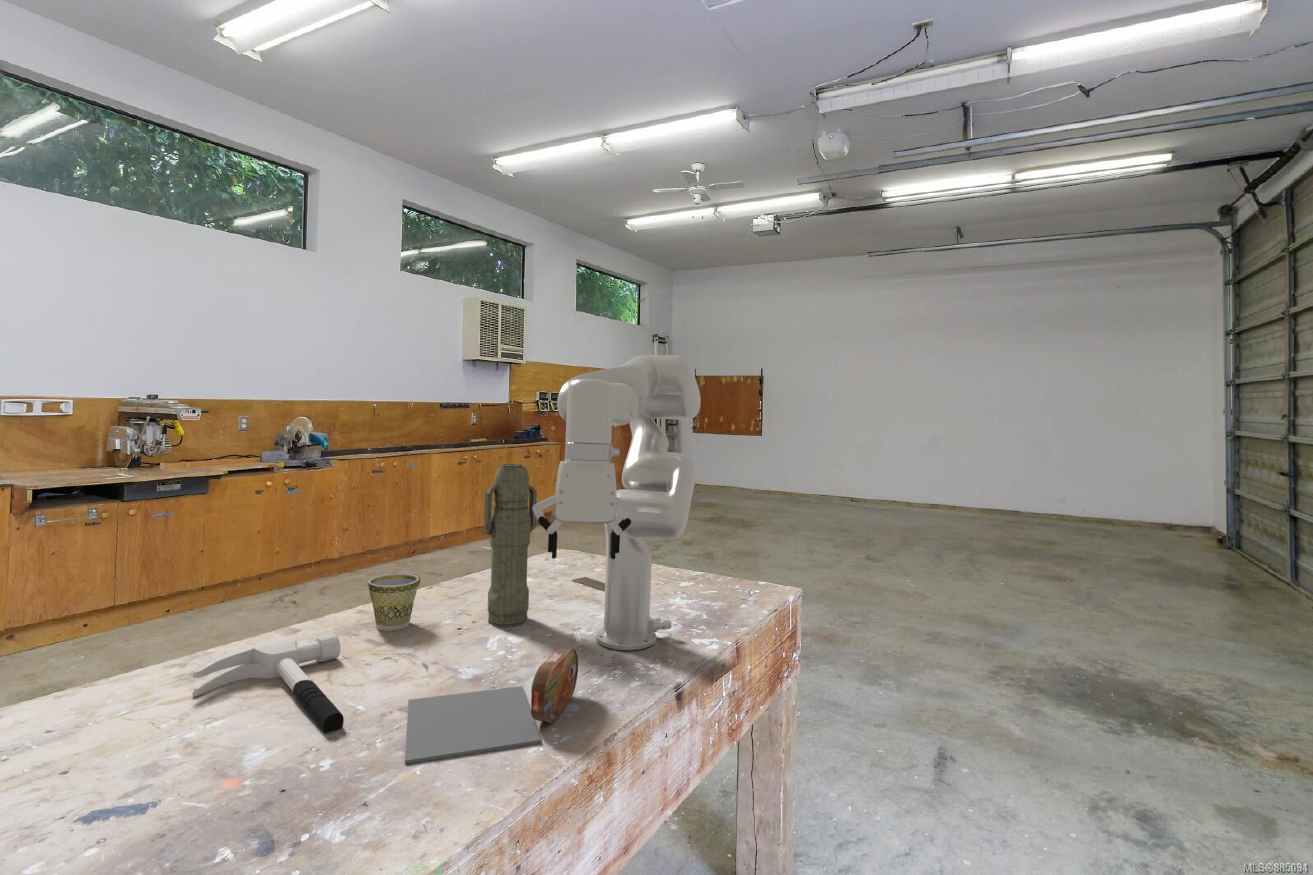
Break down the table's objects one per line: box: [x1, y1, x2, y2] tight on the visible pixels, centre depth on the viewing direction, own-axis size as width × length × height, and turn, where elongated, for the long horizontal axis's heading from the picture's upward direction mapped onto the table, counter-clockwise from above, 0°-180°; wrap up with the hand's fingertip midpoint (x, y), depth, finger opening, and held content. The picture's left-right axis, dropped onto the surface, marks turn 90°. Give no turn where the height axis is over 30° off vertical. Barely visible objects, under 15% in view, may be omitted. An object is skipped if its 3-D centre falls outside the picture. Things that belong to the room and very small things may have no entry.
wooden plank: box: [571, 576, 605, 592], centre depth 169 cm, size 17×1×5 cm
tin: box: [530, 648, 579, 724], centre depth 98 cm, size 15×3×8 cm, turn 168°
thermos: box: [483, 463, 538, 628], centre depth 138 cm, size 9×12×35 cm
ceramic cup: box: [367, 573, 421, 632], centre depth 134 cm, size 13×10×10 cm
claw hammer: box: [192, 633, 345, 734], centre depth 99 cm, size 5×22×30 cm
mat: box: [404, 685, 542, 765], centre depth 94 cm, size 18×18×1 cm
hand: (583, 557), depth 102 cm, fingers open, 9 cm apart
